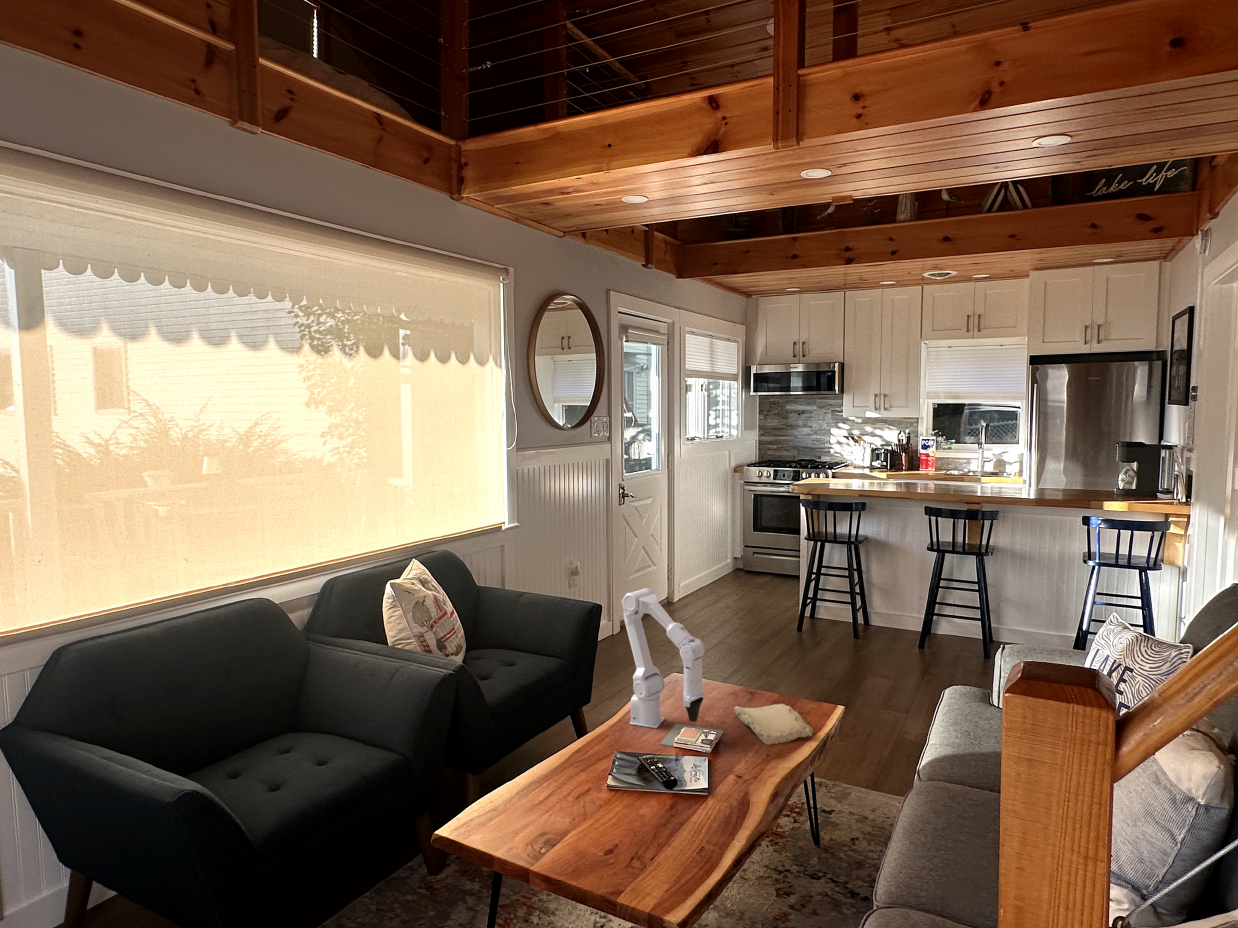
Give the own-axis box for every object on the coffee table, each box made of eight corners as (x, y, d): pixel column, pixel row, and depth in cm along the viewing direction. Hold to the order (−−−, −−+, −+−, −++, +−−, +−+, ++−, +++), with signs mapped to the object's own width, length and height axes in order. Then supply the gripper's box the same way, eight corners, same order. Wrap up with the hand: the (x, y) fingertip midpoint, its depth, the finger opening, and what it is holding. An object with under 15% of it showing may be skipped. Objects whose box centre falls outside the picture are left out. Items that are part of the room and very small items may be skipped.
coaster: (684, 733, 249) (676, 743, 242) (684, 726, 249) (676, 736, 242) (702, 735, 247) (695, 746, 240) (702, 729, 247) (695, 739, 239)
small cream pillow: (755, 750, 240) (815, 737, 244) (752, 726, 240) (813, 714, 243) (729, 721, 264) (785, 710, 268) (727, 699, 263) (782, 689, 267)
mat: (660, 745, 242) (660, 743, 242) (676, 724, 257) (676, 723, 257) (710, 753, 236) (710, 751, 236) (723, 732, 251) (723, 730, 251)
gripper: (698, 688, 238) (698, 731, 239) (711, 672, 251) (711, 713, 252) (676, 685, 240) (676, 728, 241) (690, 670, 254) (690, 710, 255)
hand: (693, 720), depth 247 cm, fingers closed
